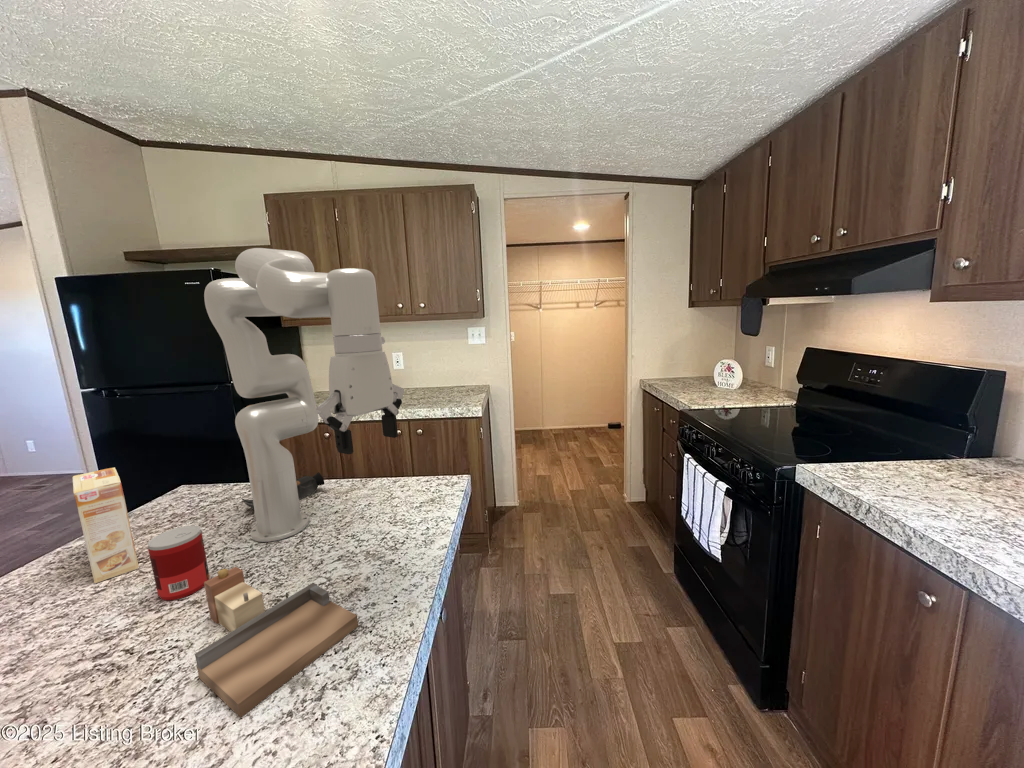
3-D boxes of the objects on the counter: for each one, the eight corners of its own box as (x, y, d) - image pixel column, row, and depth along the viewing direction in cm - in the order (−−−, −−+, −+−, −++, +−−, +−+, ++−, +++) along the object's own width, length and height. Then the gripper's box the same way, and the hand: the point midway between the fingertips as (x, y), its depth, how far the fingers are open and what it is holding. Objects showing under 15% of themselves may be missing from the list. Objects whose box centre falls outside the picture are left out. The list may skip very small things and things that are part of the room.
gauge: (210, 619, 71) (202, 576, 70) (241, 601, 76) (234, 561, 74) (236, 638, 67) (228, 593, 65) (267, 618, 71) (261, 576, 70)
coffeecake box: (140, 568, 88) (121, 481, 85) (93, 585, 83) (71, 493, 80) (132, 544, 98) (115, 465, 95) (90, 558, 93) (70, 475, 90)
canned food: (219, 578, 83) (210, 527, 81) (176, 605, 75) (165, 549, 74) (193, 572, 85) (183, 522, 84) (148, 597, 78) (137, 544, 76)
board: (199, 677, 59) (194, 653, 59) (315, 602, 74) (312, 582, 74) (240, 717, 53) (235, 690, 52) (358, 626, 68) (355, 604, 67)
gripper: (383, 341, 78) (391, 429, 81) (295, 350, 64) (310, 457, 66) (412, 341, 74) (420, 433, 77) (326, 350, 60) (340, 463, 63)
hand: (369, 444), depth 72 cm, fingers open, 9 cm apart
